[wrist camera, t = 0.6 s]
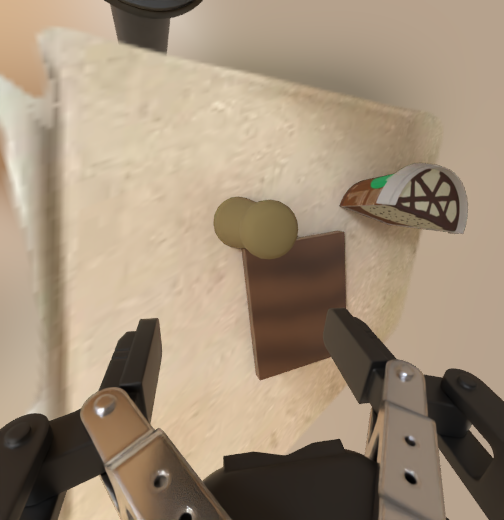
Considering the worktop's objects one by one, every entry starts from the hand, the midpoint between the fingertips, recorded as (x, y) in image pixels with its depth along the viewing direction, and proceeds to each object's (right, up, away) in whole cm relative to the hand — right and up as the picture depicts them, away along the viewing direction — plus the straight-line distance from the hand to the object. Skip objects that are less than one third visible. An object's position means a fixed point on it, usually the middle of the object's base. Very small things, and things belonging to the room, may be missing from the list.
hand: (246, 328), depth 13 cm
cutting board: (+6, -3, +25) cm, 26 cm away
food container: (+17, +12, +26) cm, 33 cm away
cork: (-1, +8, +20) cm, 21 cm away
